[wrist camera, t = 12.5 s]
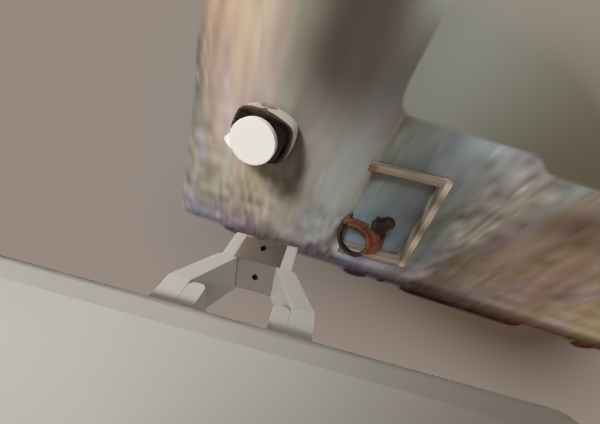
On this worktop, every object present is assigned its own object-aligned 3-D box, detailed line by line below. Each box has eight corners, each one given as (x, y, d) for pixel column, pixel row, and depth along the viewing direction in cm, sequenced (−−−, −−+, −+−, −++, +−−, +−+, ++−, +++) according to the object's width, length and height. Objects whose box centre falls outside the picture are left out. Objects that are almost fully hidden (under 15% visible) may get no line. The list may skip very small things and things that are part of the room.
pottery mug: (367, 251, 54) (350, 267, 48) (343, 218, 55) (324, 230, 49) (412, 228, 46) (398, 245, 40) (383, 190, 47) (366, 200, 41)
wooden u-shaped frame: (369, 159, 43) (370, 164, 40) (448, 178, 42) (455, 185, 40) (338, 243, 53) (338, 251, 51) (401, 259, 53) (404, 269, 50)
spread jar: (305, 119, 41) (294, 132, 31) (283, 173, 47) (267, 198, 37) (243, 89, 40) (211, 92, 30) (229, 148, 46) (197, 167, 36)
